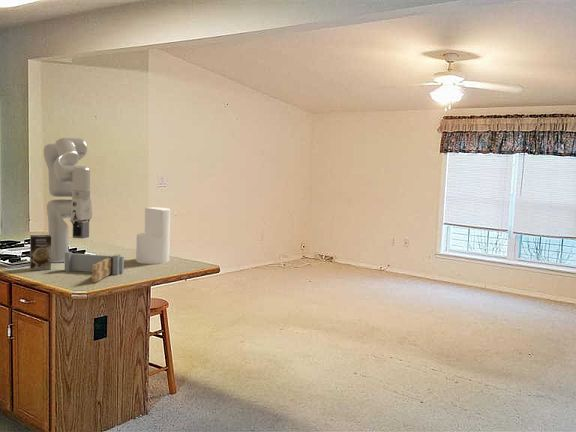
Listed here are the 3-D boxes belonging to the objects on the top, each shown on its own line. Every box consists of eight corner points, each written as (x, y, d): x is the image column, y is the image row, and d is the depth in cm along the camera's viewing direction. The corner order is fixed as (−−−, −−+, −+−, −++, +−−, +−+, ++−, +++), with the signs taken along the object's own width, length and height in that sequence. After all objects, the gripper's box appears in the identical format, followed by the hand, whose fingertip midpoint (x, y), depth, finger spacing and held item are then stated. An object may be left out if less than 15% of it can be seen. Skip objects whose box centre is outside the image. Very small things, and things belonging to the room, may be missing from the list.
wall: (62, 271, 262) (62, 252, 261) (67, 269, 266) (67, 250, 265) (119, 275, 260) (120, 256, 259) (123, 273, 264) (123, 254, 263)
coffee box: (30, 270, 260) (30, 236, 258) (29, 268, 266) (29, 234, 264) (51, 269, 264) (51, 236, 262) (50, 267, 270) (50, 234, 268)
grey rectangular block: (82, 238, 246) (82, 221, 245) (72, 237, 247) (72, 220, 246) (89, 237, 251) (89, 220, 250) (79, 236, 252) (79, 219, 251)
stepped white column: (157, 256, 309) (158, 206, 306) (175, 261, 297) (177, 209, 294) (130, 259, 297) (130, 207, 294) (147, 265, 285) (148, 211, 282)
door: (109, 272, 262) (109, 256, 261) (113, 273, 262) (113, 256, 261) (91, 282, 242) (92, 264, 241) (95, 282, 241) (96, 264, 241)
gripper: (77, 196, 238) (77, 238, 239) (98, 194, 254) (98, 233, 256) (61, 195, 239) (61, 236, 241) (84, 193, 256) (84, 232, 258)
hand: (80, 234), depth 249 cm, fingers closed on grey rectangular block, 5 cm apart
